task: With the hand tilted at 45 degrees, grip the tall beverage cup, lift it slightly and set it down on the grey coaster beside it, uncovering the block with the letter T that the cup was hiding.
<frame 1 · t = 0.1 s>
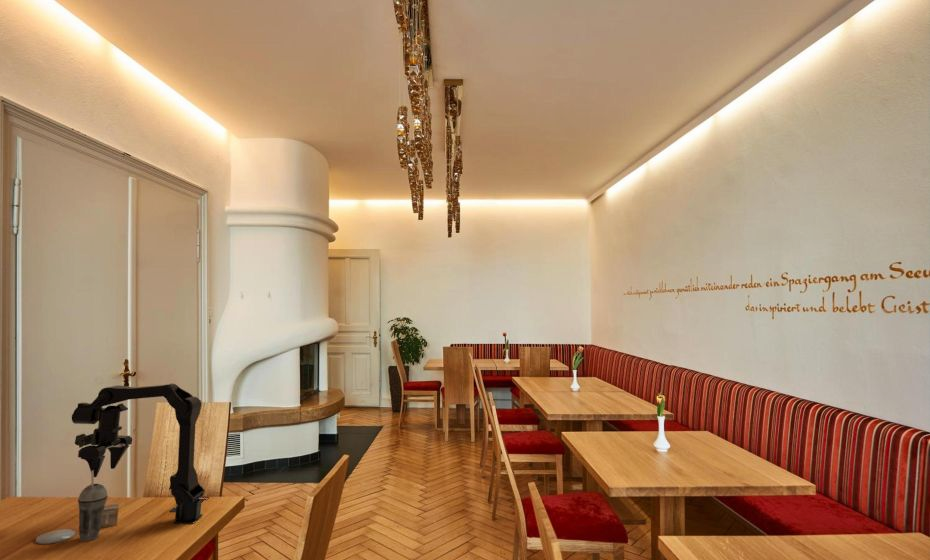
hand: (103, 472, 164), 15 cm above the table, tool pointing down, fingers open, 9 cm apart
smartphone: (189, 506, 178), on the table
grey coaster: (55, 537, 148), on the table
beverage cup: (88, 538, 148), on the table
letter block: (106, 524, 159), on the table
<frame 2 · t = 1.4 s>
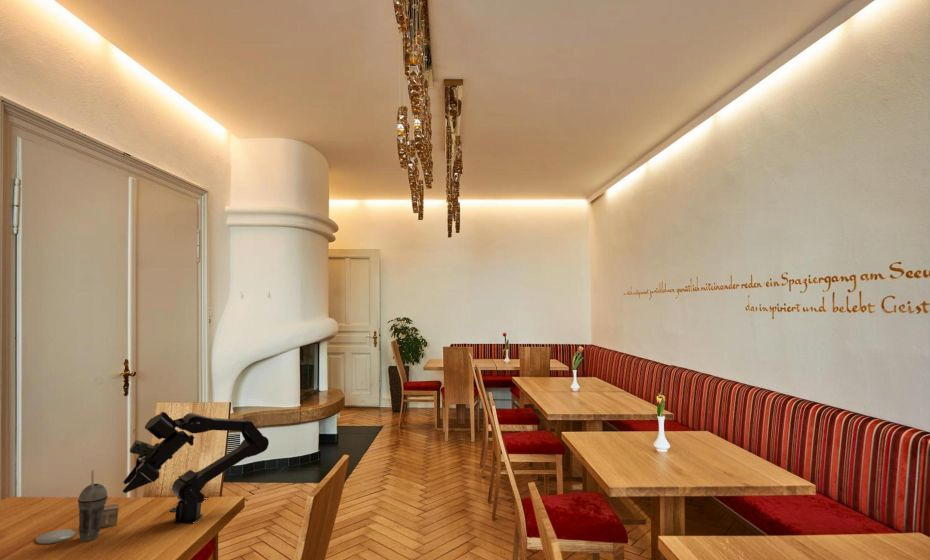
hand: (124, 487, 154), 14 cm above the table, tool tilted 45°, fingers open, 9 cm apart
nothing on the table moved.
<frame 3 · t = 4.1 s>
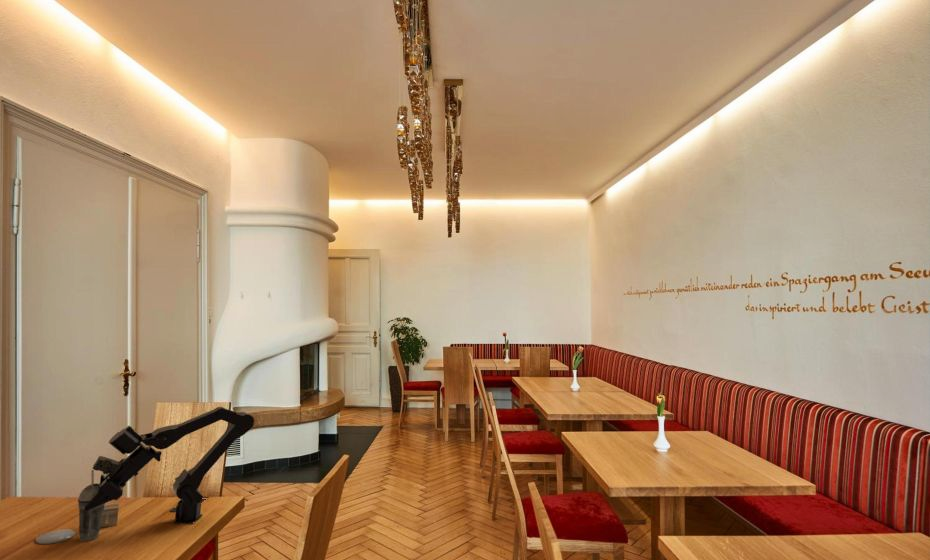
hand: (86, 505, 148), 10 cm above the table, tool tilted 45°, fingers closed on beverage cup, 7 cm apart
beverage cup: (88, 538, 148), on the table, touching gripper
everything else where it was.
when the fingers open (11 cm above the table, at t = 8.2 s): beverage cup stays where it is, resting on grey coaster.
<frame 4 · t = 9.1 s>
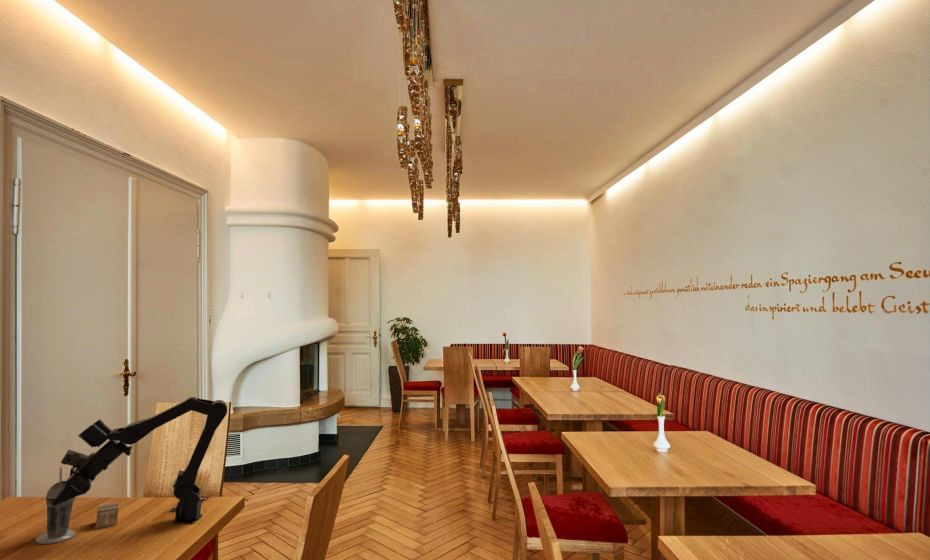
hand: (54, 499, 148), 11 cm above the table, tool tilted 45°, fingers open, 9 cm apart
beverage cup: (57, 535, 148), resting on grey coaster
everything else where it was.
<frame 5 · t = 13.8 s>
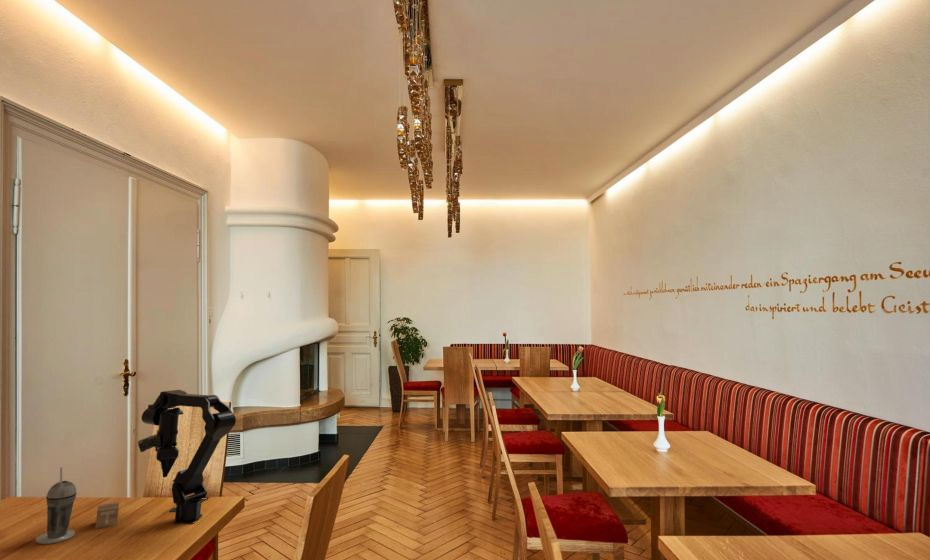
hand: (164, 473, 171), 13 cm above the table, tool pointing down, fingers open, 9 cm apart
nothing on the table moved.
at the end: beverage cup 0.3 cm off-centre on the grey coaster, point 0.4 cm above the grey coaster's base; beverage cup tilted 0°; letter block moved 0.1 cm from its start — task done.
